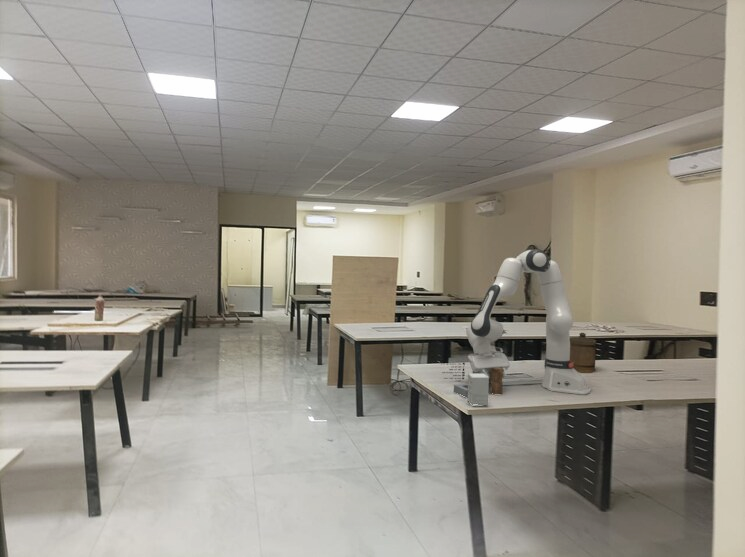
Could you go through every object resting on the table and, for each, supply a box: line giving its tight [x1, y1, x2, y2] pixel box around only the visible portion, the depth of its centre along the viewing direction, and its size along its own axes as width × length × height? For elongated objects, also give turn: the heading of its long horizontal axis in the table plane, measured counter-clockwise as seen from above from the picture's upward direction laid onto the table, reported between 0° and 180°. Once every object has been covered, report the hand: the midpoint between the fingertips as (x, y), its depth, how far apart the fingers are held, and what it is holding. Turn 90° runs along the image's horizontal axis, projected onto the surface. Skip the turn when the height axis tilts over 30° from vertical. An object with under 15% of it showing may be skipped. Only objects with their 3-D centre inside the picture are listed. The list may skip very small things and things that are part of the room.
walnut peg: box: [490, 367, 504, 395], centre depth 224 cm, size 4×4×12 cm
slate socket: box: [453, 383, 468, 398], centre depth 222 cm, size 10×10×4 cm
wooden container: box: [570, 332, 597, 374], centre depth 279 cm, size 15×15×22 cm
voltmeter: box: [440, 362, 492, 384], centre depth 243 cm, size 27×11×10 cm, turn 95°
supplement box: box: [467, 372, 490, 406], centre depth 207 cm, size 7×7×13 cm
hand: (496, 377), depth 224 cm, fingers open, 8 cm apart
